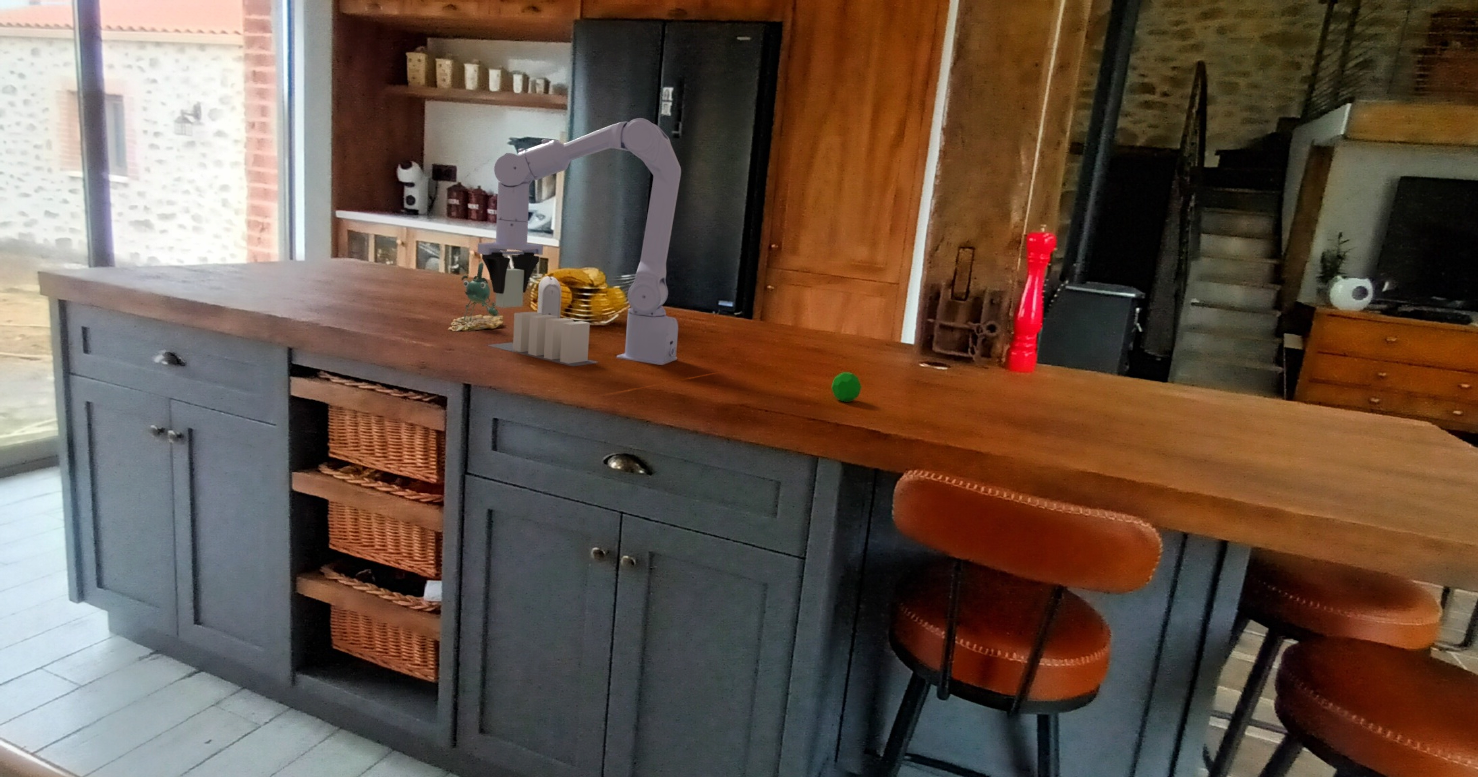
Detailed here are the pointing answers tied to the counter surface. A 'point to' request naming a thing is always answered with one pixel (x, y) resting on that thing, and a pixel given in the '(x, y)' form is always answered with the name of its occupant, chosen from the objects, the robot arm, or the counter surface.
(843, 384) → the polyhedron
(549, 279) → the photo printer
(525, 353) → the domino mat
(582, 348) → the domino
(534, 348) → the domino
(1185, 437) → the counter surface
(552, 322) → the domino
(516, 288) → the pale green rectangular block
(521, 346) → the domino
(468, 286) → the teal and tan figure
